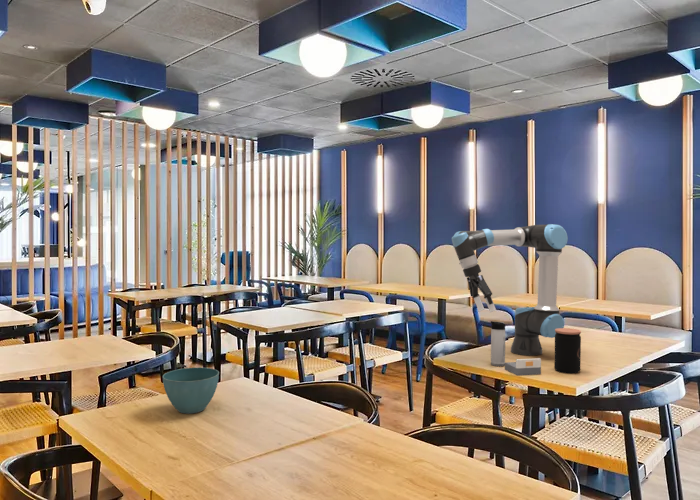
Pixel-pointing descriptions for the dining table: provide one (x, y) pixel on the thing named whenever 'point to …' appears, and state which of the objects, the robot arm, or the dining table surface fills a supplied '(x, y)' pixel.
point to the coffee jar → (567, 350)
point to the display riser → (524, 366)
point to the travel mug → (497, 344)
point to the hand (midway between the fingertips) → (487, 310)
